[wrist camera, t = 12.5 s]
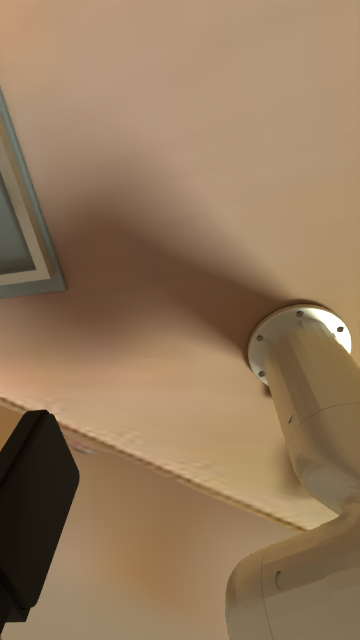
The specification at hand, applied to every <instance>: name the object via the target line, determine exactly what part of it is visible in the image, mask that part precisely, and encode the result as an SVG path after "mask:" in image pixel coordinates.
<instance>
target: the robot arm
mask: <svg viewBox="0 0 360 640" xmlns="http://www.w3.org/2000/svg"><path fill="white" fill-rule="evenodd" d="M297 311H299V312H297ZM258 335H260V336H258ZM350 351H351V336H350V332H349V330H348V328H347V326H346V325H345V323H344V322H343V321H342V319H341V318H340V317H339V316H338V315H336V314H335V313H334V312H333V311H331V310H329V309H327V308H325V307H321V306H318V305H311V304H299V305H292V306H288V307H285V308H282V309H280V310H277V311H275V312H274V313H272V314H270V315H269V316H267V317H266V318H265V319H264V320H263V321H262V322H260V323H259V325H258V326H257V327H256V328H255V330H254V331H253V333H252V335H251V337H250V340H249V344H248V359H249V363H250V366H251V369H252V371H253V372H254V374H255V376H256V377H257V378H258V379H259V380H260V381H262V382H263V383H264V384H266V385H268V386H269V388H270V392H271V395H272V398H273V402H274V405H275V408H276V412H277V415H278V419H279V422H280V425H281V429H282V432H283V435H284V439H285V442H286V446H287V449H288V452H289V456H290V459H291V462H292V465H293V468H294V471H295V473H296V475H297V477H298V479H299V481H300V482H301V484H302V485H303V486H304V487H305V489H306V490H307V491H308V492H309V493H310V494H311V495H312V496H313V497H314V498H315V499H317V500H318V501H319V502H320V503H322V504H323V505H325V506H326V507H327V508H329V509H330V510H332V511H334V512H335V513H337V514H338V515H340V516H338V517H337V518H336V519H333V520H331V521H329V522H327V523H324V524H322V525H320V526H319V527H317V528H314V529H311V530H309V531H306V532H304V533H301V534H298V535H296V536H293V537H291V538H288V539H285V540H283V541H280V542H277V543H275V544H272V545H270V546H268V547H265V548H263V549H260V550H258V551H256V552H254V553H252V554H250V555H249V556H247V557H245V558H244V559H243V560H242V561H241V562H239V563H238V564H237V566H236V567H235V568H234V570H233V571H232V573H231V575H230V577H229V579H228V583H227V587H226V593H225V616H226V624H227V629H228V635H229V639H230V640H360V368H359V367H358V365H357V364H356V363H355V361H354V360H353V358H352V357H351V355H350ZM79 477H80V476H79V470H78V468H77V466H76V464H75V461H74V459H73V457H72V455H71V452H70V450H69V448H68V445H67V443H66V441H65V439H64V436H63V434H62V432H61V430H60V427H59V425H58V423H57V421H56V418H55V416H54V415H53V414H50V413H49V412H48V411H47V410H35V411H27V412H26V413H25V414H24V415H23V417H22V418H21V420H20V421H19V423H18V425H17V426H16V428H15V429H14V431H13V433H12V434H11V436H10V437H9V439H8V440H7V442H6V443H5V445H4V447H3V448H2V450H1V451H0V640H2V638H1V633H2V630H3V627H4V625H5V623H6V622H26V619H27V616H28V614H29V611H30V608H31V607H34V606H35V605H36V603H37V601H38V599H39V596H40V593H41V590H42V588H43V585H44V582H45V579H46V576H47V573H48V570H49V567H50V564H51V562H52V559H53V556H54V553H55V550H56V547H57V544H58V541H59V539H60V536H61V533H62V530H63V527H64V524H65V521H66V518H67V516H68V513H69V510H70V507H71V504H72V501H73V498H74V495H75V492H76V490H77V487H78V484H79Z"/></svg>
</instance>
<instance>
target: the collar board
mask: <svg viewBox="0 0 360 640" xmlns="http://www.w3.org/2000/svg"><path fill="white" fill-rule="evenodd" d="M66 289H67V286H66V283H65V280H64V277H63V274H62V271H61V268H60V265H59V262H58V259H57V256H56V253H55V250H54V247H53V244H52V241H51V238H50V235H49V232H48V229H47V226H46V223H45V220H44V217H43V214H42V211H41V208H40V205H39V202H38V199H37V196H36V193H35V190H34V187H33V184H32V181H31V178H30V175H29V172H28V169H27V166H26V163H25V160H24V157H23V154H22V151H21V148H20V145H19V142H18V139H17V136H16V133H15V130H14V127H13V124H12V121H11V118H10V115H9V112H8V109H7V106H6V103H5V100H4V96H3V93H2V90H1V87H0V299H2V298H10V297H17V296H25V295H32V294H40V293H48V292H55V291H63V290H66Z"/></svg>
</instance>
